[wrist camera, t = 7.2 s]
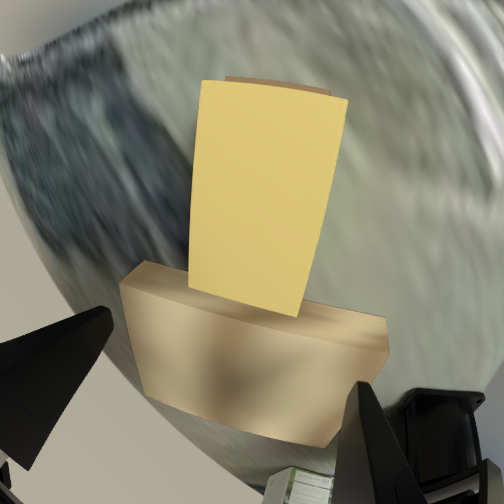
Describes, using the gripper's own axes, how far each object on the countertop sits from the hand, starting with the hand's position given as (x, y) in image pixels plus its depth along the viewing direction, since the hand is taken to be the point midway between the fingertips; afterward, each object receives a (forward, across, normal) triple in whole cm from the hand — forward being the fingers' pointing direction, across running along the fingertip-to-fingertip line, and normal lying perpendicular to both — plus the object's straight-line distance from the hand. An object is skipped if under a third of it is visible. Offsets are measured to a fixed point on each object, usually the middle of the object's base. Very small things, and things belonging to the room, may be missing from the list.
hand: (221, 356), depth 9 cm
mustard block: (+4, 0, -1) cm, 4 cm away
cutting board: (+6, 0, +6) cm, 8 cm away
